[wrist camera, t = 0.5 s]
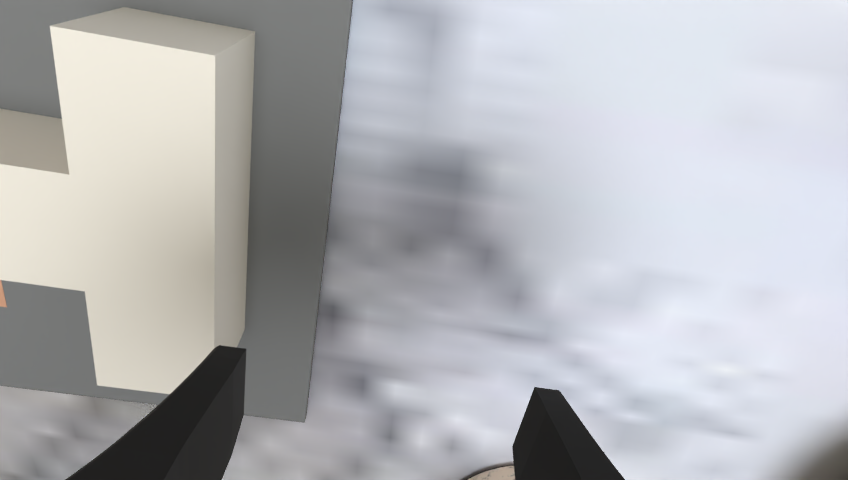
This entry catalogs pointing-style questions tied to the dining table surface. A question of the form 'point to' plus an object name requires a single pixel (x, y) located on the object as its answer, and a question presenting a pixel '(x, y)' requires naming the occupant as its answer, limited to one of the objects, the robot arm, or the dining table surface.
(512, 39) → the dining table surface
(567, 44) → the dining table surface
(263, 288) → the mat
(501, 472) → the teacup with lid
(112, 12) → the t block
